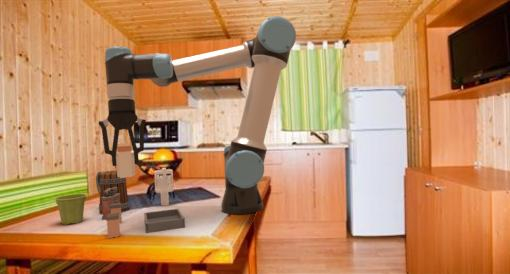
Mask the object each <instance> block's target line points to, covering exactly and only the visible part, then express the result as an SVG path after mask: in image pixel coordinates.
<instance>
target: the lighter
mask: <svg viewBox="0 0 510 274" xmlns="http://www.w3.org/2000/svg"><path fill="white" fill-rule="evenodd" d="M115 191H118V190H117V187H114V188H108V189H107V190H105V191H104V194H105V196H104V197H101V200H102V212H103V214H102V217H101V219H102V220H104V221H107V220H106V217H107V214H111V209H110V205H111V204H114V203H120V198H119V196H120V193H115Z"/></svg>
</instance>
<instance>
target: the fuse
mask: <svg viewBox="0 0 510 274" xmlns="http://www.w3.org/2000/svg"><path fill="white" fill-rule="evenodd" d="M131 154H132V144H131V143H123V144H122V143H121V144H117V155H118V158H119V173H120V178H126V179H127V178H132V177H134V176H133V171H132V156H131Z"/></svg>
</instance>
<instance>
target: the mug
mask: <svg viewBox="0 0 510 274" xmlns="http://www.w3.org/2000/svg"><path fill="white" fill-rule="evenodd" d="M95 185H96V190H97V192H98V194H99V203H98V210H99V213H101V214H102V215H103V212H102V200H101V197H104V196H105V194H104V191H105V190H107V189H108V188H114V187H117V190H118V191H115V193H120V196H119V198H120V203H121V213H124V212H127V211H128V210H129V209H130V200H129V195H128V187H127V177H126V178H120V177H117V169H115V170H106V171H104V170H103V171H99V172H97V173H96V176H95ZM126 210H127V211H126Z"/></svg>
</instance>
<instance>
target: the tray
mask: <svg viewBox="0 0 510 274" xmlns="http://www.w3.org/2000/svg"><path fill="white" fill-rule="evenodd" d="M143 215H144V216H143V217H144V226H145V233H146V234H148V233H155V232H162V231H170V230H176V229H183V228H186V220H185V217H184V216H183V213H182V212H181V211H180V209H179V208H173V209H164V210H157V211H155V210H154V211H149V212H147V211H146V212H144V213H143Z"/></svg>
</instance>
